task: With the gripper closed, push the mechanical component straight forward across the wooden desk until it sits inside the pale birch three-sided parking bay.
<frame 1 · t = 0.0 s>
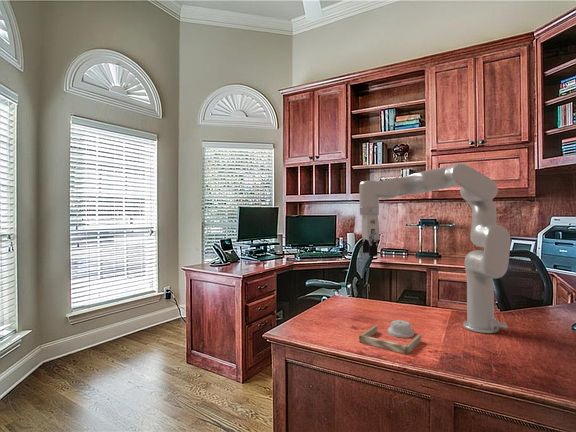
hand: (369, 254, 136), 31 cm above the table, tool pointing down, fingers open, 9 cm apart
parking bay: (390, 341, 126), on the table
mechanical component: (400, 334, 134), on the table
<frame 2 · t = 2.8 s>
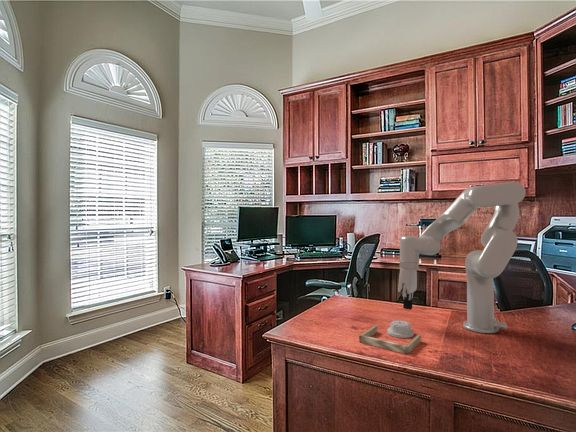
hand: (407, 308, 143), 7 cm above the table, tool pointing down, fingers closed
nothing on the table moved.
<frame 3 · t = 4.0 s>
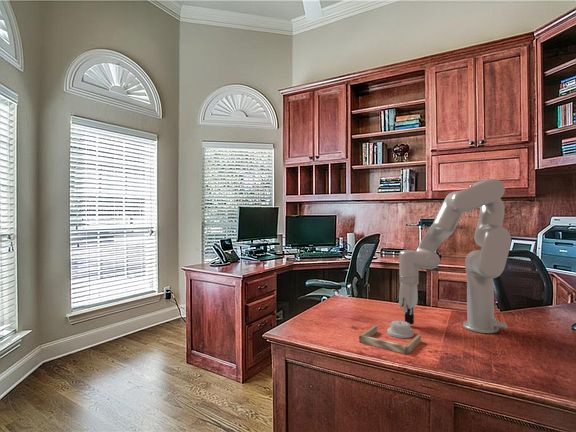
hand: (409, 323, 142), 1 cm above the table, tool pointing down, fingers closed
nothing on the table moved.
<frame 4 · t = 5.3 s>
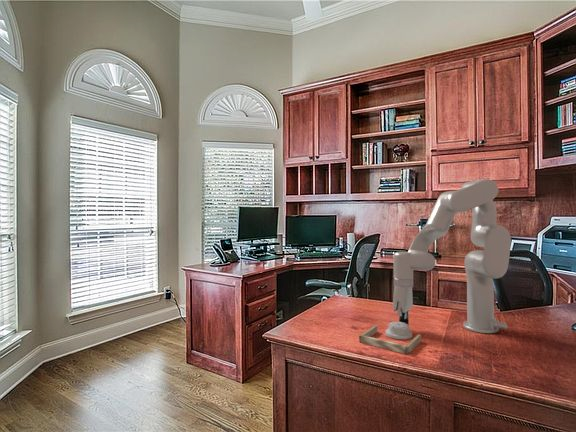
hand: (403, 327, 137), 1 cm above the table, tool pointing down, fingers closed
mechanical component: (398, 335, 132), on the table, touching gripper
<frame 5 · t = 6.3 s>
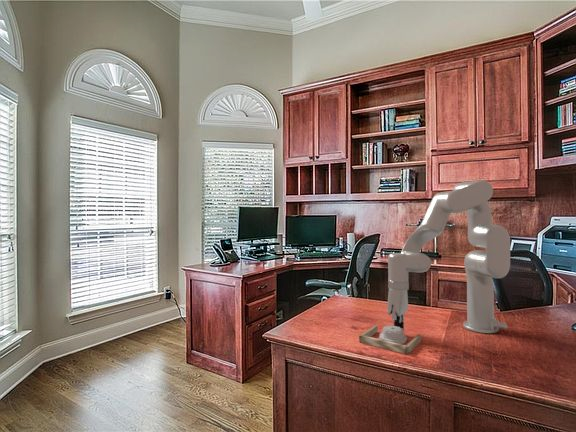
hand: (398, 331, 133), 1 cm above the table, tool pointing down, fingers closed
mechanical component: (393, 340, 128), on the table, touching gripper
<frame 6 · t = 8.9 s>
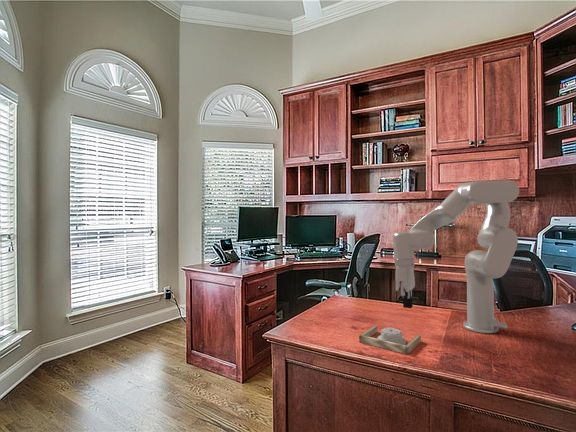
hand: (408, 307, 137), 9 cm above the table, tool pointing down, fingers closed
mechanical component: (391, 343, 126), on the table
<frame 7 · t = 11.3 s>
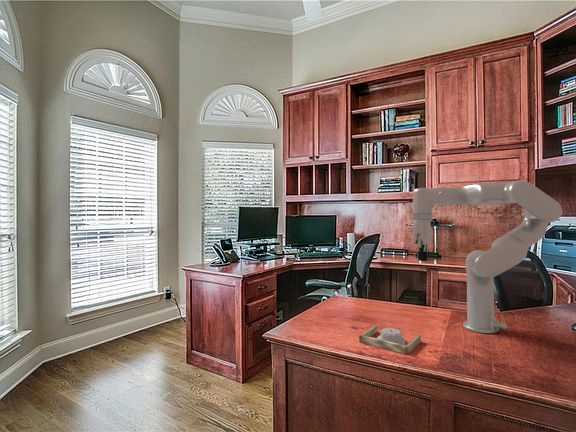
hand: (423, 260, 144), 27 cm above the table, tool pointing down, fingers closed
nothing on the table moved.
at the end: mechanical component inside the target area (0.8 cm from its centre), on the table; mechanical component moved 11.0 cm from its start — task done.
